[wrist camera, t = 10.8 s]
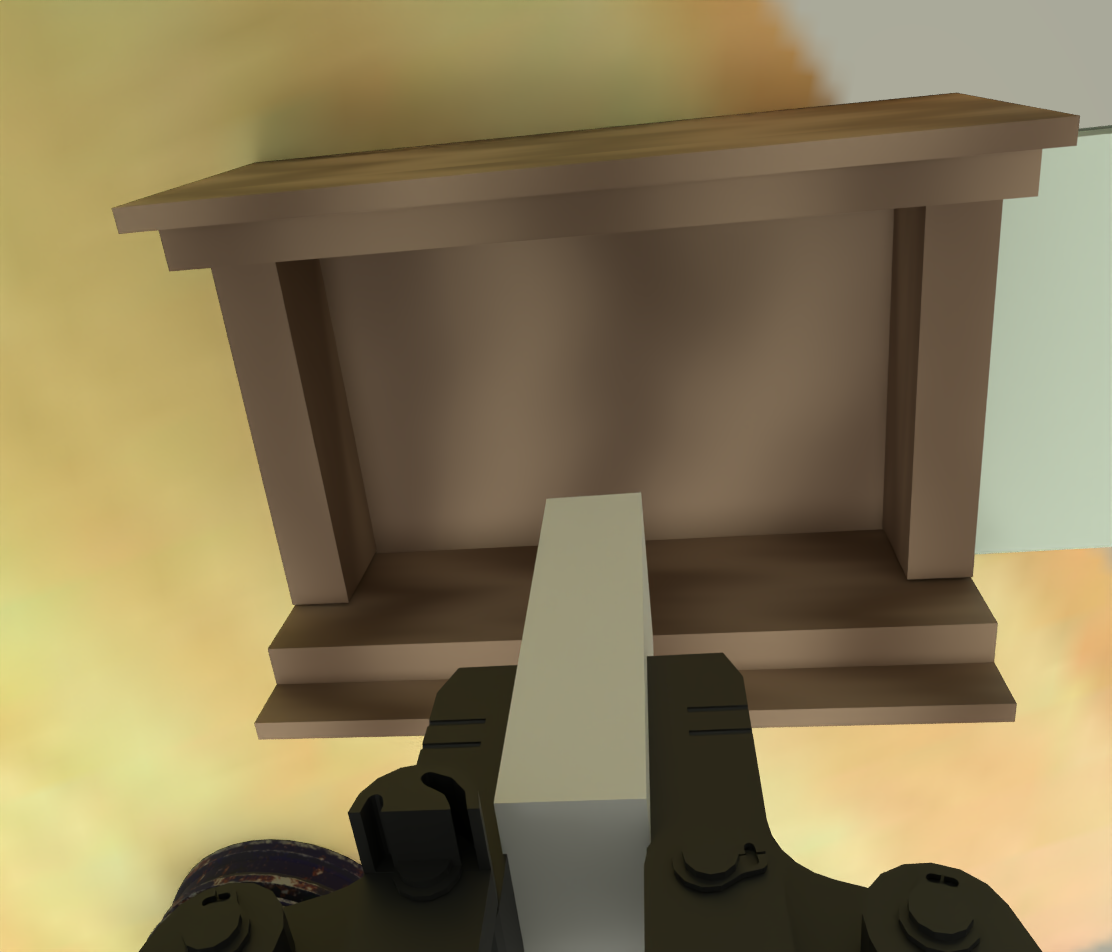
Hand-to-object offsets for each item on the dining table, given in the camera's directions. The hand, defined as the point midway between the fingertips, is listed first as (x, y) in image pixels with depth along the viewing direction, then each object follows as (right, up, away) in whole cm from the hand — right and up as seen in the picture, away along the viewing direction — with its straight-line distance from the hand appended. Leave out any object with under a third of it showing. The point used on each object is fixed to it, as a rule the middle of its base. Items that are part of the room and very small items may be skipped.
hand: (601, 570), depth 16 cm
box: (+1, +4, +12) cm, 13 cm away
